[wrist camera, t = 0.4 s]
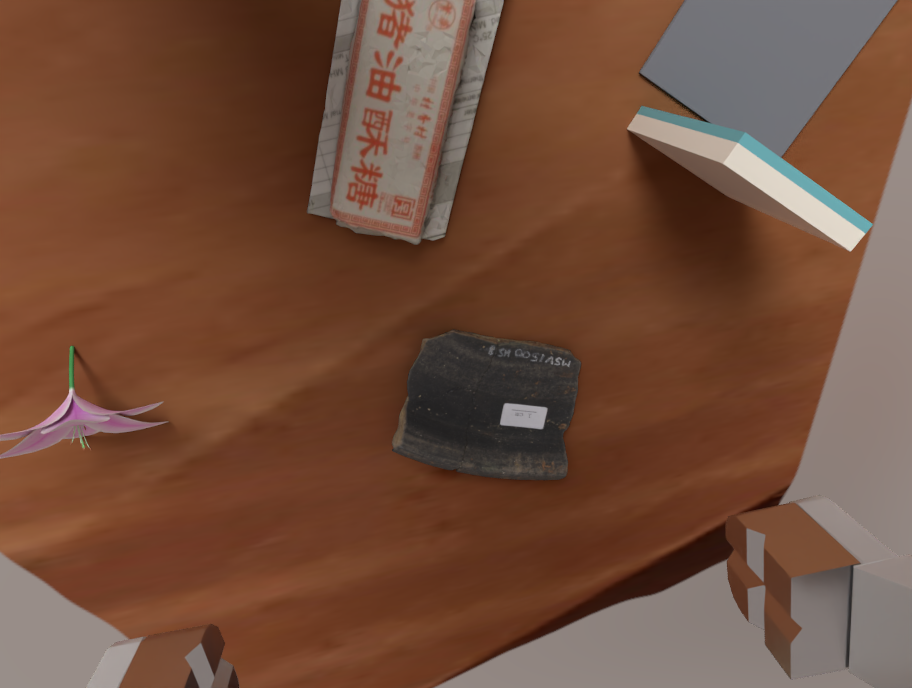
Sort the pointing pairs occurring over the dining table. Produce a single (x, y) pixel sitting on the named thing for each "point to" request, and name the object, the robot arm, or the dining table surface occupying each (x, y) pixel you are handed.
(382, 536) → the dining table surface
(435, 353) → the pottery fragment
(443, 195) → the packaged product
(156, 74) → the dining table surface
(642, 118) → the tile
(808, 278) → the dining table surface
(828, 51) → the mat
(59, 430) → the lily
